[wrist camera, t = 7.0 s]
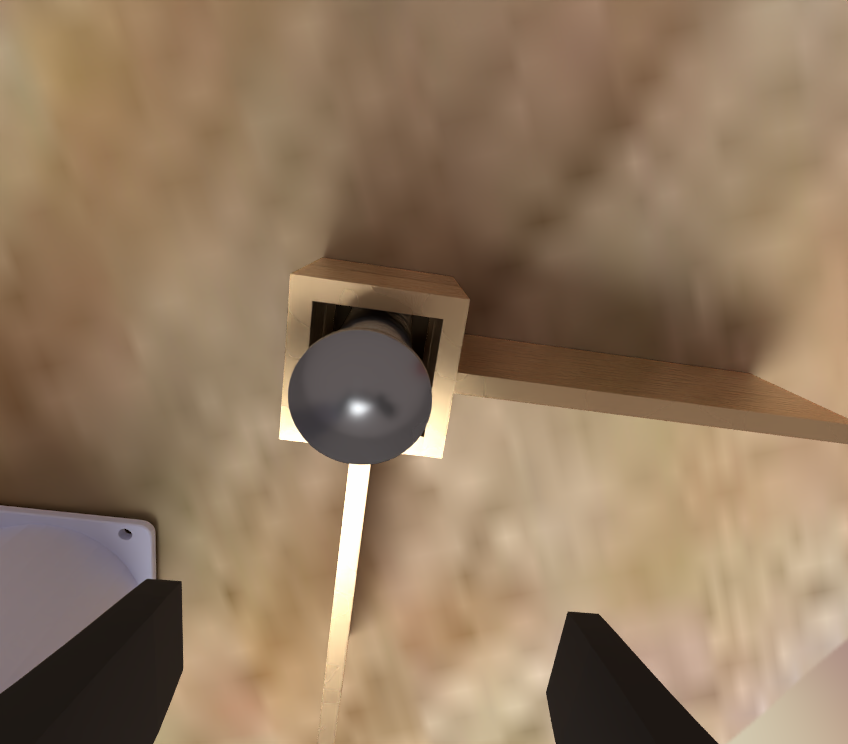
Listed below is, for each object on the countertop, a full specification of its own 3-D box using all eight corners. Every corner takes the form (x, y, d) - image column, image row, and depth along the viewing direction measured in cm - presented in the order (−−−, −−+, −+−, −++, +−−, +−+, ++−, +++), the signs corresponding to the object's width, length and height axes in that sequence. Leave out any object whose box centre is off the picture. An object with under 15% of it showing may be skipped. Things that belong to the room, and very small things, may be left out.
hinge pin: (335, 353, 18) (283, 455, 11) (343, 272, 17) (292, 320, 10) (415, 364, 18) (420, 472, 11) (428, 285, 18) (443, 341, 10)
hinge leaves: (290, 632, 22) (258, 747, 17) (322, 257, 17) (290, 273, 12) (644, 663, 23) (705, 778, 19) (768, 323, 18) (894, 360, 14)
